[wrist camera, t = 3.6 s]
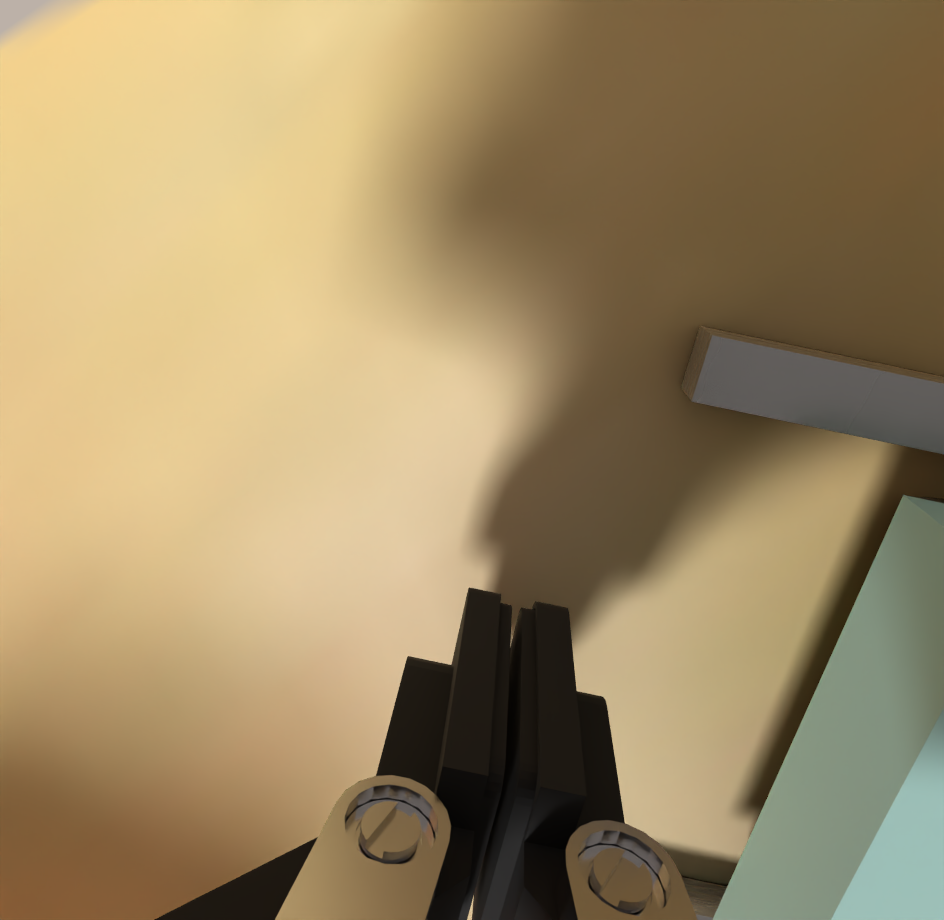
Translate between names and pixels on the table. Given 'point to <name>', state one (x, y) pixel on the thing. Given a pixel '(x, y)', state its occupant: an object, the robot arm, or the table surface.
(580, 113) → the table surface
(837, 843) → the sage green box
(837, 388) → the track
